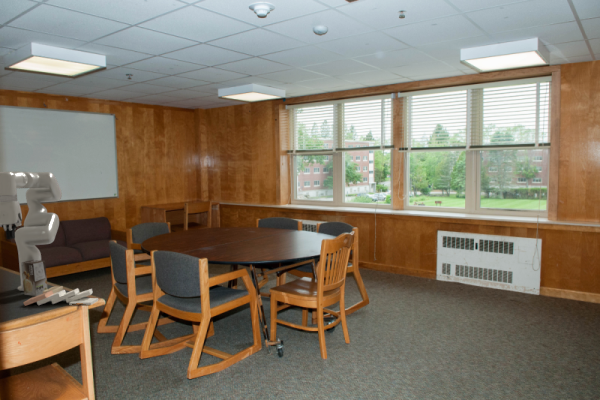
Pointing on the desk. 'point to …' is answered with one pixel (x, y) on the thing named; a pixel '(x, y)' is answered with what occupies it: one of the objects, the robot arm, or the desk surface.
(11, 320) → the desk surface
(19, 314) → the desk surface
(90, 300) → the domino
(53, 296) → the domino
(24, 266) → the coffee box
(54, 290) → the stand
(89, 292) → the domino
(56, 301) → the domino
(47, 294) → the domino
